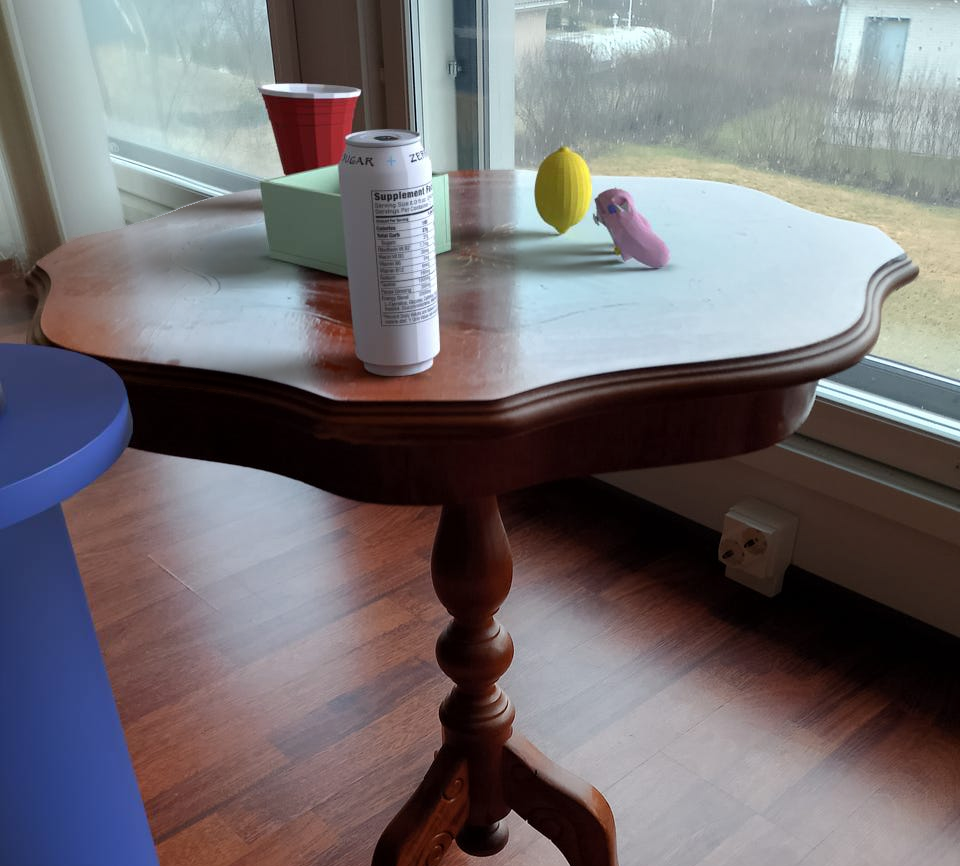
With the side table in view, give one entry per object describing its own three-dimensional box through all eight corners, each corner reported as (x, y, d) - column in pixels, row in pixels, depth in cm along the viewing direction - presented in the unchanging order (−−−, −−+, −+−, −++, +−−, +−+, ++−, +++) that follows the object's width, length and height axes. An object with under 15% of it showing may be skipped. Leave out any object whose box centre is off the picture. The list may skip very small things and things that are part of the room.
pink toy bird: (610, 259, 103) (580, 192, 100) (654, 235, 102) (624, 166, 99) (628, 289, 95) (595, 217, 92) (675, 263, 94) (644, 189, 91)
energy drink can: (414, 344, 80) (401, 124, 72) (456, 366, 76) (447, 136, 67) (342, 360, 77) (319, 135, 69) (381, 385, 73) (362, 148, 65)
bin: (358, 279, 95) (350, 198, 91) (269, 257, 101) (259, 181, 97) (451, 250, 102) (448, 173, 98) (363, 231, 109) (357, 159, 105)
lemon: (601, 232, 106) (604, 144, 102) (567, 244, 103) (569, 154, 98) (557, 224, 109) (558, 139, 105) (522, 235, 106) (522, 148, 101)
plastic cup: (388, 205, 118) (379, 83, 112) (300, 220, 113) (285, 94, 107) (341, 189, 126) (330, 74, 119) (256, 202, 121) (240, 84, 114)
